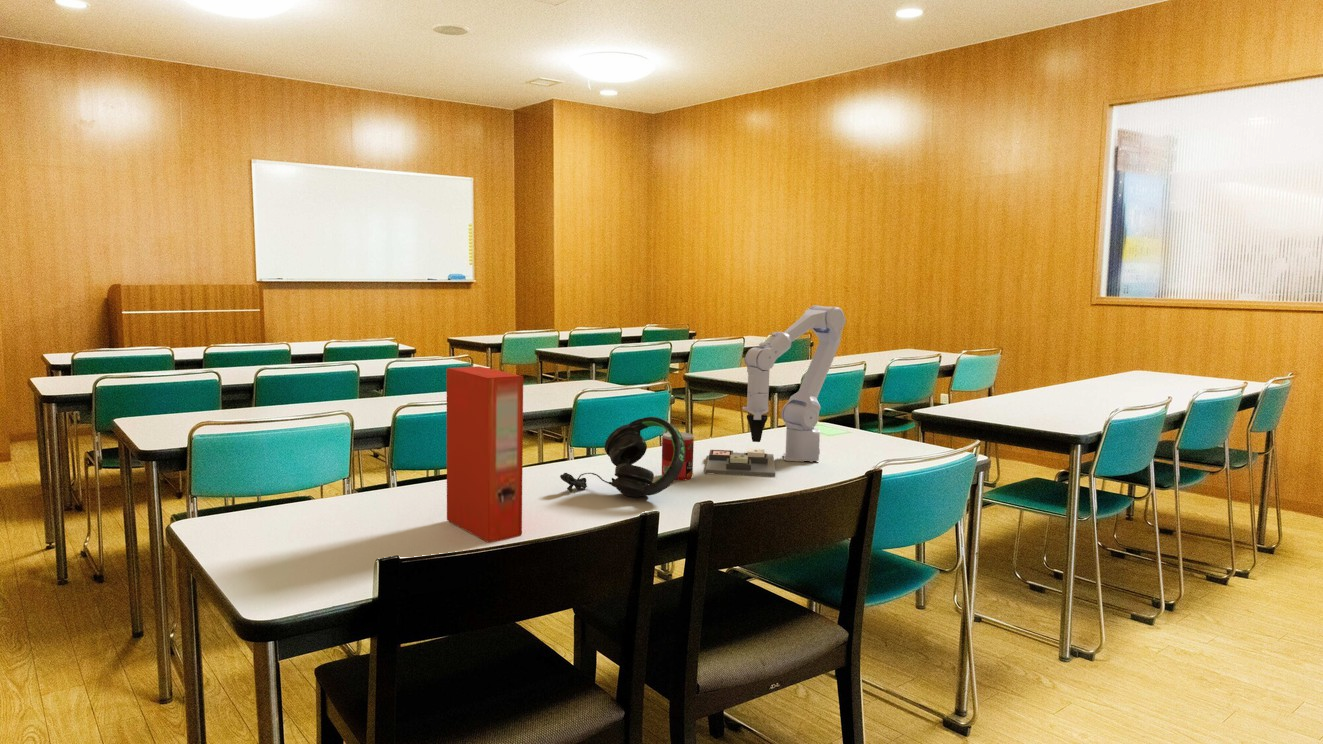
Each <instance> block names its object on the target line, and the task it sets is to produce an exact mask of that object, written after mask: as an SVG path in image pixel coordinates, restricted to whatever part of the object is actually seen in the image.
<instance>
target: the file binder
mask: <svg viewBox="0 0 1323 744" xmlns="http://www.w3.org/2000/svg"><path fill="white" fill-rule="evenodd" d="M523 421H524V375H520V374H515V373H511V372H507V371H502V370H497V369H494V368H493V369H492V368H490V367H489V368H488V367H483V366H480V365H479V366H466V367H465V366H464V367H463V366H461V367H447V368H446V520H447V521H448V522H450V523H452V524H454V525H456V526H457V527H459V528H461V529H462V530H465V531H467V532H468V533H470V534H471V535H474V536H476V537H477V538H479V539H481V540H482V541H484V542H488V543H493V542H498V541H500V540H507V539H513V538H517V537H521V536H522V533H523V460H524V459H523V447H524V446H523V444H524V443H523V442H524V441H523V440H524V437H523V436H524V430H523V429H524V422H523Z"/></svg>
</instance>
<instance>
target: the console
mask: <svg viewBox="0 0 1323 744" xmlns="http://www.w3.org/2000/svg"><path fill="white" fill-rule="evenodd" d="M713 451H727V452H730V455H747V452H734V450H730V449H729V450H728V449H725V450H724V449H710V450H709V453H708V458H707V462H706V467H705V474H706V473H714V474H713V475H731V476H733V475H736V476H751V477H752V476H754V477H774V478H775V477H776V466H775V457H774V454H773V453H765V456H764V457H748V464H746V463H730V455H716V454H713Z"/></svg>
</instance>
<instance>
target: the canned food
mask: <svg viewBox="0 0 1323 744" xmlns="http://www.w3.org/2000/svg"><path fill="white" fill-rule="evenodd" d="M679 432H680V434H681V435H682V438H683V440H684V444H685V460H684V464H683V467H682V470H681V472H680V474H679V475H678V477H677V478H676V479H675V481H686V480H685V479H688V480H690V479H692V478H693V475H694V473H693V472H694V470H693V469H694V446H695V445H694V440H695V439H694V434H692V433H689V432H684V431H682V432H681V431H679ZM661 439H662V440H661V441H662V442H661V477H662V476H663V475H664V474H665V472H666V471H667V470H668V468H669V466H670V464H671V462H672V459H673V455H674V448H673V443H672V439H671V434H670V433H669V432H668V431H667V432H665V433H663V434H662V438H661ZM691 477H692V478H691Z"/></svg>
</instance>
